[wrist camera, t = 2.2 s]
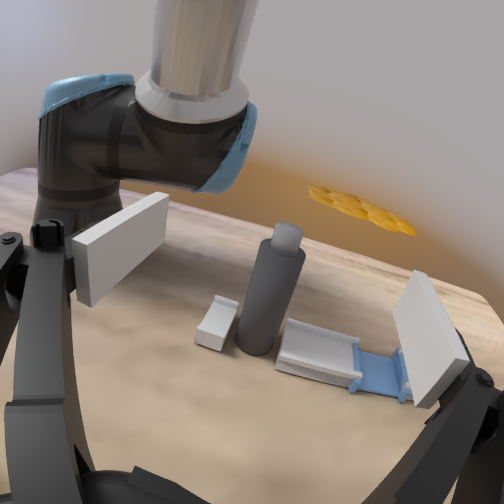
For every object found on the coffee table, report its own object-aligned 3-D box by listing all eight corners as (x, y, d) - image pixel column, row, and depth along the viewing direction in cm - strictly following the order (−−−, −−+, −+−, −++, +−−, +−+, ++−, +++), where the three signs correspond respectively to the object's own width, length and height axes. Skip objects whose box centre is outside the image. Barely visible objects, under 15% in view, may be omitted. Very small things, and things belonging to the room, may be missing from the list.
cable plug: (230, 347, 30) (262, 230, 24) (240, 323, 33) (270, 214, 27) (268, 359, 29) (312, 245, 23) (275, 334, 33) (313, 227, 27)
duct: (192, 346, 28) (194, 331, 28) (214, 305, 35) (217, 291, 34) (418, 404, 26) (428, 393, 25) (409, 360, 33) (417, 349, 32)
